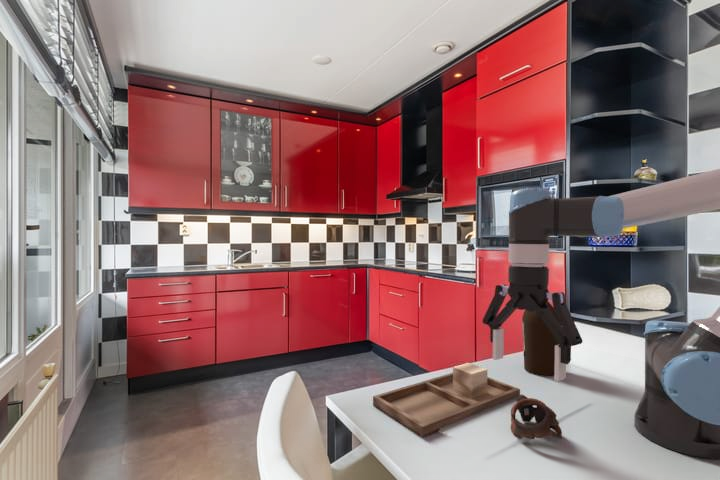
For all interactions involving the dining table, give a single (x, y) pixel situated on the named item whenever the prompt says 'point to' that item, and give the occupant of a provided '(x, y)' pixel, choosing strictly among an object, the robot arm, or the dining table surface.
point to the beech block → (470, 380)
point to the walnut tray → (438, 403)
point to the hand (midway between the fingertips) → (526, 368)
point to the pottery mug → (542, 417)
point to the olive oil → (538, 344)
